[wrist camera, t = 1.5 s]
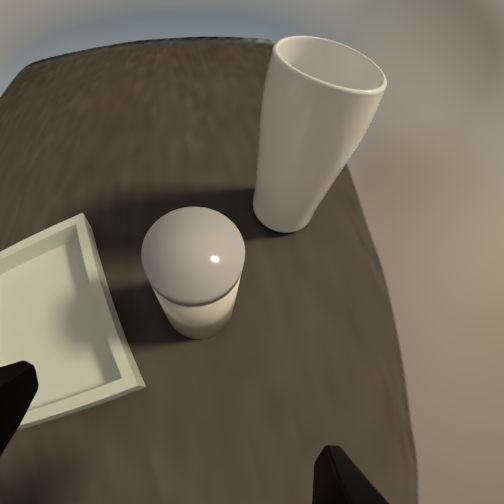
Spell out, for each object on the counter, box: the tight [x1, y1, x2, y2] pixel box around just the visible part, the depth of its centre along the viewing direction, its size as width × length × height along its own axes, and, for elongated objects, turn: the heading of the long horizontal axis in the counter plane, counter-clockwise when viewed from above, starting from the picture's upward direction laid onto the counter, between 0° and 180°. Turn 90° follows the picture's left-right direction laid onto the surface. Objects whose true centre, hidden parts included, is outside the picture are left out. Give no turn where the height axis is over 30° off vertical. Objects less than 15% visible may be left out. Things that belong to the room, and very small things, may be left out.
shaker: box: [141, 207, 245, 339], centre depth 19 cm, size 5×5×9 cm
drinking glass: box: [253, 36, 387, 233], centre depth 21 cm, size 7×7×15 cm
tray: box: [0, 213, 146, 431], centre depth 19 cm, size 14×14×2 cm
